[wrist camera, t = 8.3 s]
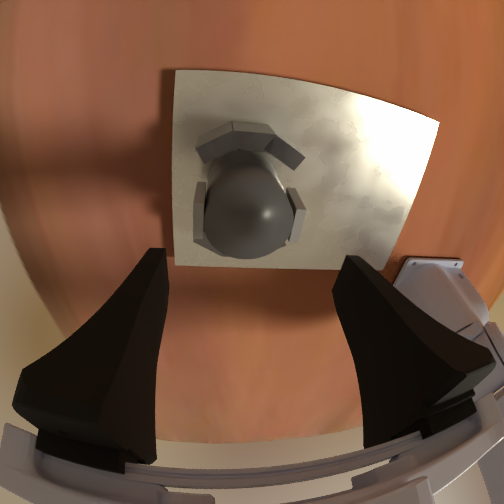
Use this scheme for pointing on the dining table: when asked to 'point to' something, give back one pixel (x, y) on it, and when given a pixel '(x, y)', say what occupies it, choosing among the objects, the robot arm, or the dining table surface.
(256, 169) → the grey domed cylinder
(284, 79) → the beige plate
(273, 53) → the dining table surface
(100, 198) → the dining table surface
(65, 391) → the robot arm
